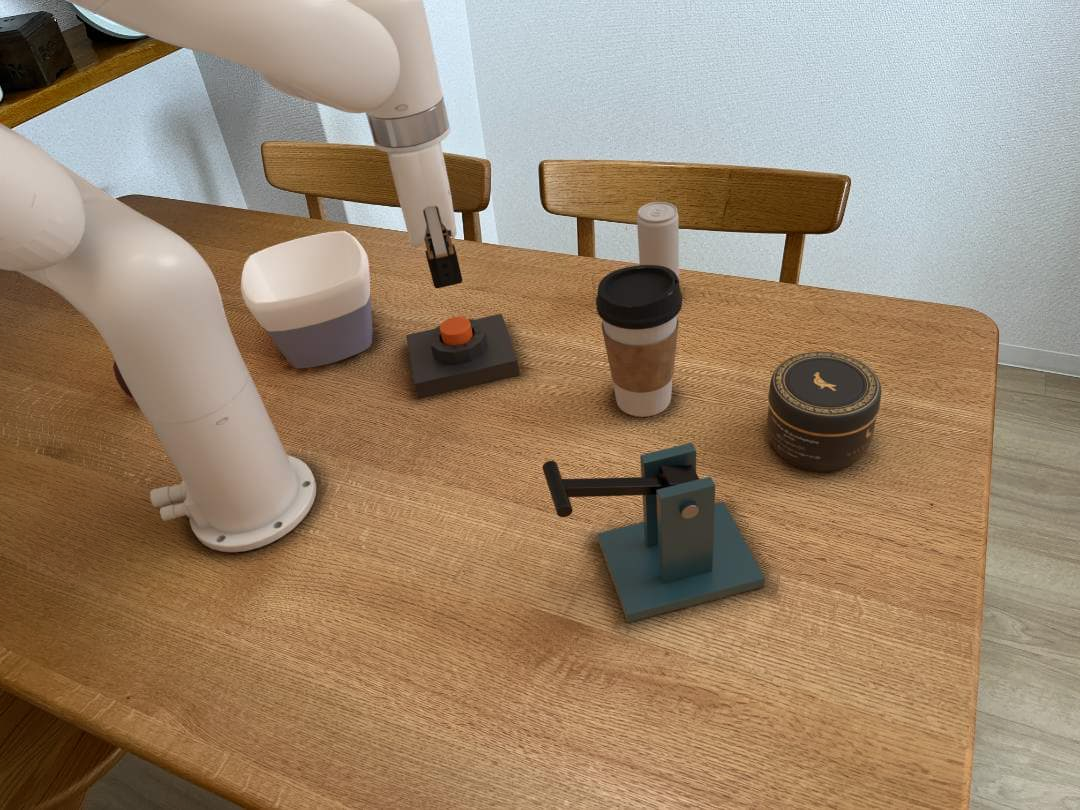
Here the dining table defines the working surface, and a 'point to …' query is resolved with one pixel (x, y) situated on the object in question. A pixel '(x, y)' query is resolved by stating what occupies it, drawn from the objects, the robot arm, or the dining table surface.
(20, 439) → the dining table surface
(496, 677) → the dining table surface
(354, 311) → the bowl
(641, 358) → the coffee cup
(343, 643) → the dining table surface
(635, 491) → the lever
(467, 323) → the button
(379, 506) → the dining table surface
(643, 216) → the beverage can
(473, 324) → the button block
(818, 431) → the jar
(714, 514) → the lever base
